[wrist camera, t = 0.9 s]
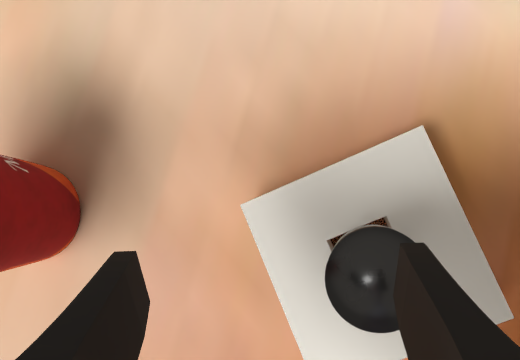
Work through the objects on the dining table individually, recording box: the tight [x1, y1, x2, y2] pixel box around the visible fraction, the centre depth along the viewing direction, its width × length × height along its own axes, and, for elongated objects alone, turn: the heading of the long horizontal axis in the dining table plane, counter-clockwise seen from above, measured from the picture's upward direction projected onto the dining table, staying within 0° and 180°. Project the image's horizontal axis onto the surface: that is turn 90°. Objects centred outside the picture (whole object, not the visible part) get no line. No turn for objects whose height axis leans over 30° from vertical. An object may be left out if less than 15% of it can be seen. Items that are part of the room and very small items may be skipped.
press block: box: [241, 125, 514, 360], centre depth 25 cm, size 10×10×3 cm
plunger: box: [325, 224, 415, 333], centre depth 20 cm, size 4×4×7 cm
